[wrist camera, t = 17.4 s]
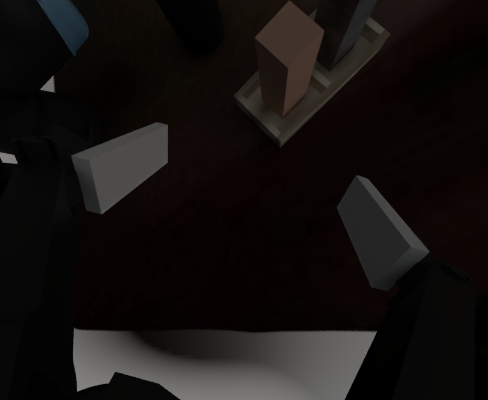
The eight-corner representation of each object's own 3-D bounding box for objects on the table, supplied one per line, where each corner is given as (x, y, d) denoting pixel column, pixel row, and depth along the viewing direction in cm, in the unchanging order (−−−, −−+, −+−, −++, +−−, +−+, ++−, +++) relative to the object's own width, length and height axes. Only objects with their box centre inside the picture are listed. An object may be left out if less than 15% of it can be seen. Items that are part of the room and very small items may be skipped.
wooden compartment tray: (237, 105, 36) (213, 42, 22) (328, 10, 34) (369, -130, 20) (280, 147, 35) (284, 109, 21) (377, 51, 33) (458, -66, 18)
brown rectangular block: (261, 100, 34) (254, 37, 21) (283, 77, 34) (289, 0, 21) (282, 119, 34) (288, 68, 21) (304, 97, 33) (324, 30, 20)
